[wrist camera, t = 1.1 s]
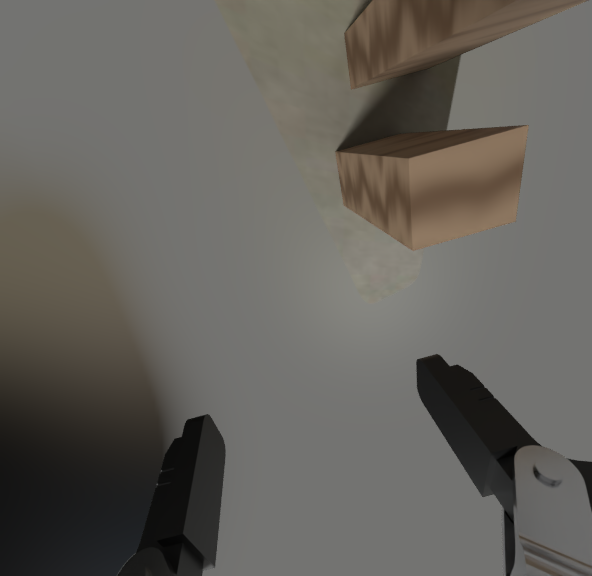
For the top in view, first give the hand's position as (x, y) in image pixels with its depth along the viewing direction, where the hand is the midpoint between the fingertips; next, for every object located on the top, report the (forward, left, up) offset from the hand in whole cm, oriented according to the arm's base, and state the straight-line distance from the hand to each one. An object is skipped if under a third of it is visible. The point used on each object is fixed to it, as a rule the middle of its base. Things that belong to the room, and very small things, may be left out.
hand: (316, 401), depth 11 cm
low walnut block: (-1, +17, -38) cm, 41 cm away
